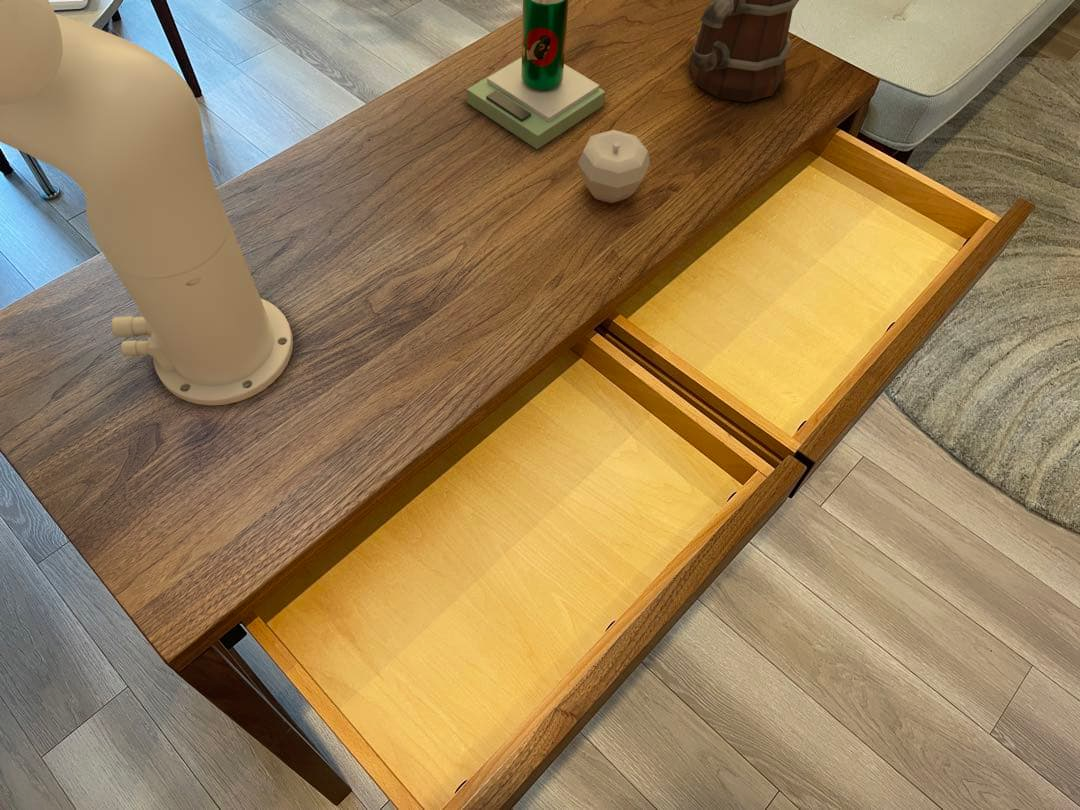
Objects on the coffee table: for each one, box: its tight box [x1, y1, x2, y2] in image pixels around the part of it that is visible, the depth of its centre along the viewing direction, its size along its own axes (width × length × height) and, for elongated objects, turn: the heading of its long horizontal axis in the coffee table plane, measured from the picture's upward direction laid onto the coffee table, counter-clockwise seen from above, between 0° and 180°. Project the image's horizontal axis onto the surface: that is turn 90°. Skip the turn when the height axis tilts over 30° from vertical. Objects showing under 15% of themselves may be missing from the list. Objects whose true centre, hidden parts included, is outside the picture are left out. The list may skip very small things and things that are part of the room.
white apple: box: [577, 129, 651, 204], centre depth 86 cm, size 8×8×7 cm
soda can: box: [521, 0, 569, 91], centre depth 90 cm, size 5×5×12 cm
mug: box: [688, 0, 800, 103], centre depth 94 cm, size 16×12×15 cm
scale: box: [466, 56, 606, 150], centre depth 96 cm, size 12×12×3 cm
